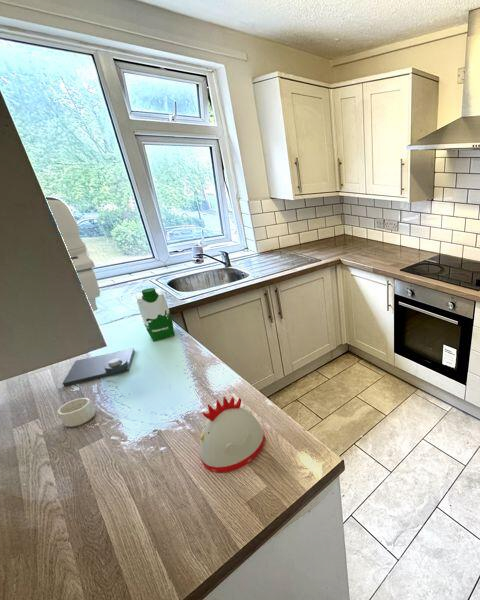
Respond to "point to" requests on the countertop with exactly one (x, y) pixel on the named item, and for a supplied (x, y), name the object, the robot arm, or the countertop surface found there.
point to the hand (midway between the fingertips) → (87, 306)
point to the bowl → (76, 412)
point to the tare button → (114, 362)
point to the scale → (98, 367)
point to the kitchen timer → (229, 437)
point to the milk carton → (155, 313)
